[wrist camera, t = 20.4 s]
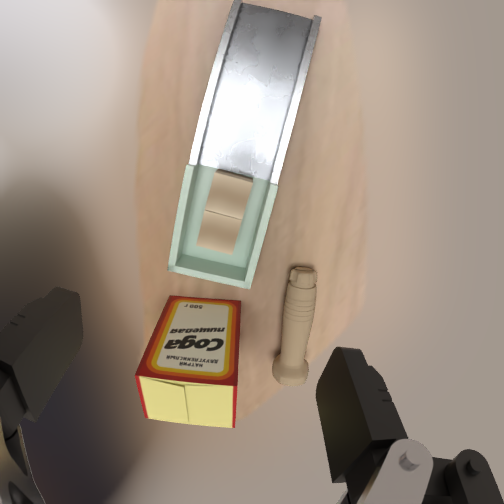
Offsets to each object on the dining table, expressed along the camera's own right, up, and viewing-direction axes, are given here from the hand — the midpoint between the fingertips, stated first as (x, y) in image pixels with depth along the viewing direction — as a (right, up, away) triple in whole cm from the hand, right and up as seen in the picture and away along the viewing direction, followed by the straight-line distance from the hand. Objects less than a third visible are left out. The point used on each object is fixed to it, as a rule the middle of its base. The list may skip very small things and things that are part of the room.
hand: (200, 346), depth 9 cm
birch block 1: (-1, +10, +26) cm, 28 cm away
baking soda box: (-5, -6, +33) cm, 34 cm away
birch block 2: (-2, +6, +28) cm, 28 cm away
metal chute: (+2, +21, +22) cm, 31 cm away
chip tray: (-2, +6, +28) cm, 29 cm away
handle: (+8, +1, +28) cm, 29 cm away
